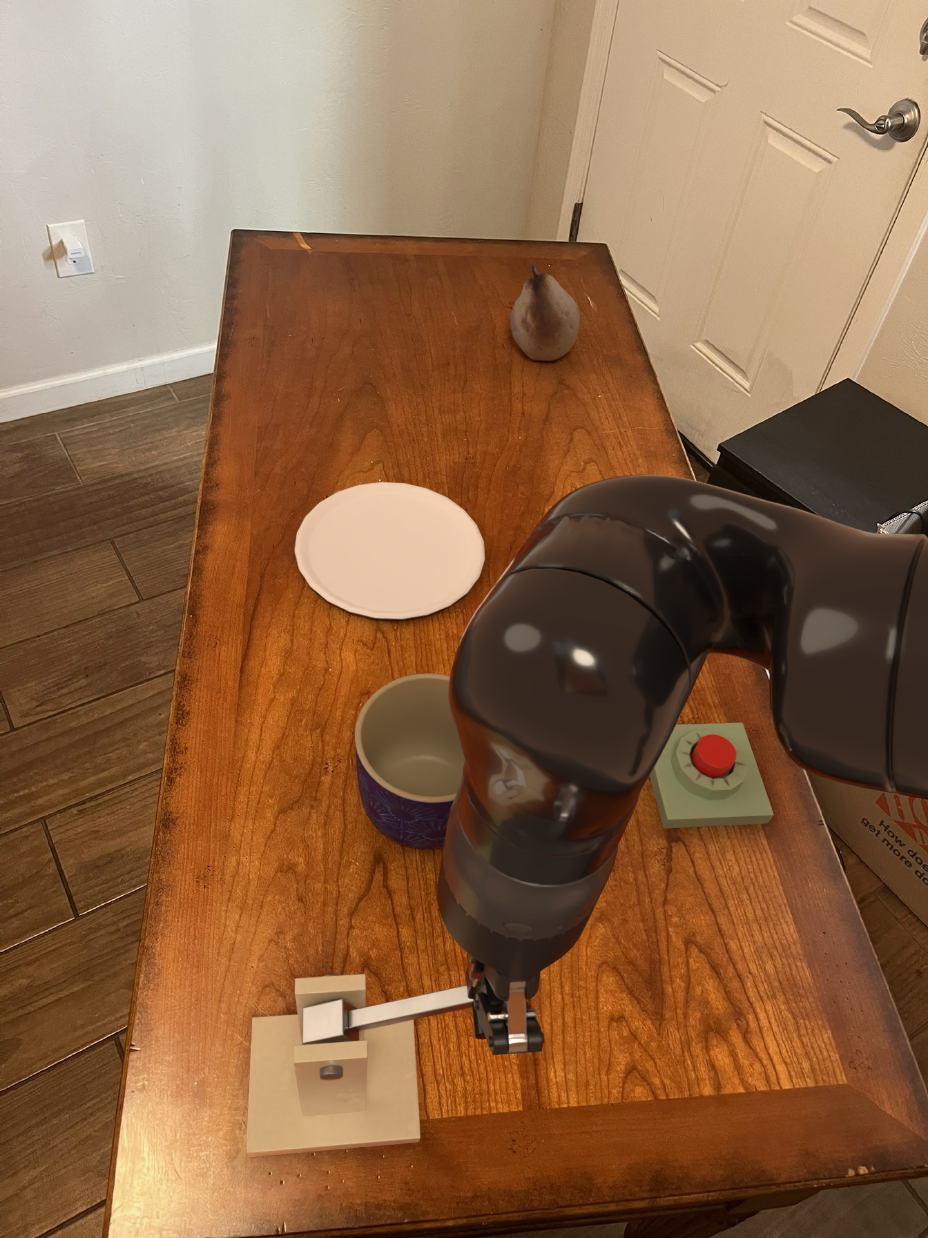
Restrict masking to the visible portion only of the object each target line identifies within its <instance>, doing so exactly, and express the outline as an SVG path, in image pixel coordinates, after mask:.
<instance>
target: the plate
mask: <svg viewBox="0 0 928 1238" xmlns="http://www.w3.org/2000/svg"><path fill="white" fill-rule="evenodd" d="M485 553H486V552H485V541H484V538H483V536H482V534H481V531H480V529H479V527H478V525H477V523H476V522H475V521H474V520H473V518H472V517H471V516H470V515H469V514H468V512H467V511H466V510H465V509H463V507H461V506H459V505H458V504H457V503H456V502H454V501H453V500H451V499H450V498H448V497H447V496H445V495H443V494H441V493H438V492H436V491H434V490H432V489H430V488H428V487H422V486H417V485H414V484H409V483H405V482H391V481H389V482H387V481H378V482H371V483H363V484H358V485H353V486H351V487H348V488H345V489H342V490H339V491H337V492H335V493H333V494H331V495H330V496H328V497H327V498H325V499H323V500H322V501H320V502H318V503H317V504H316V505H315V506H314V507H313V508H312V509H311V510H310V511H309V512H308V513H307V514H306V515H305V516H304V518H303V519H302V522H301V524H300V525H299V528H298V529H297V531H296V536H295V544H294V555H295V559H296V563H297V567H298V571H299V572H300V574H301V575H302V577H303V578H304V580H305V581H306V583H307V585H308V586H309V587H310V588H311V589H312V590H313V591H314V592H315V593H317V594H318V595H319V596H320V597H321V598H323V600H325V601H326V602H327V603H329V604H330V605H333V606H335V607H338V608H339V609H341V610H343V611H345V612H347V613H349V614H353V615H358V616H361V617H366V618H369V619H373V620H391V621H392V620H393V621H404V620H410V619H417V618H422V617H428V616H430V615H432V614H434V613H437V612H441V611H442V610H445V609H447V608H450V607H451V606H453V605H454V604H456V603H457V602H458V601H459V600H461V599H462V598H463V597H465V596H466V595H468V594H469V592H470V591H471V589H472V588H473V587H474V586H475V584H476V583H477V582H478V581H479V579H480V576H481V573H482V570H483V567H484V563H485V561H486V556H485V555H486V554H485Z"/></svg>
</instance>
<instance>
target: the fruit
mask: <svg viewBox="0 0 928 1238" xmlns="http://www.w3.org/2000/svg"><path fill="white" fill-rule="evenodd" d="M529 271H530V273H531V274H532V276H531V277H530V278H528V279H527V280H526V281H525V282H524V284H523V287H522V289H521V294H520V295H519V296H518V297H517V298H516V300H515V301H514V303H513V308H512V310H511V313H510V330H511V334H512V337H513V340H514V341H515V343H516V344H517V346H518V347H519V348H520V349H521V352H523V353H524V355H526V357H528V358H530V359H531V360H532V361H545V362H552V361H556V360H558V359H560V358H562V357H563V356H565V355H566V354H567V353H569V352H570V351H571V349H573V347H574V345H575V344H576V342H577V339H578V337H579V333H580V328H581V313H580V309H579V306H578V304H577V302H576V301H575V300H574V298H573V297H572V296H571V295H570V294H569V293H568V292H567V291H566V290H565V289H564V288H563V287H562V286H561V285H560V283H559V282H558V281H557V280H556V278H554V277H553V276H552V275H550V274H549V273H540V274H538V271H537V267H536V266H535V265H532V266H530V269H529Z"/></svg>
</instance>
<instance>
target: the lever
mask: <svg viewBox="0 0 928 1238" xmlns="http://www.w3.org/2000/svg"><path fill="white" fill-rule="evenodd" d="M466 961H467V962H468V958H467V957H466ZM474 1000H475V999H469V998H468V994H467V984H464V985H459V986H455V987H450V988H446V989H441V990H436V991H433V992H428V993H422V994H418V995H413V996H410V997H405V998H400V999H395V1000H391V1001H386V1002H382V1003H378V1004H372V1005H368V1006H365V1007H363V1008H359V1009H358V1008H356V1007H355V1006H353V1005H352V1004H350V1003H348V1002H347V1001H345V1000H344V999H340V1000H335V1001H331V1002H326V1003H322V1004H317V1005H313V1006H308V1007H304V1008H303V1041H302V1043H303V1044H304V1045H308V1044H322V1043H336V1042H350V1041H359V1031H363V1030H368V1029H373V1028H378V1027H382V1026H387V1025H392V1024H396V1023H401V1022H406V1021H410V1020H414V1021H415V1020H419V1019H420V1020H421V1019H424V1018H428V1017H433V1016H438V1015H439V1016H440V1015H443V1014H447V1013H452V1012H457V1011H461V1010H462V1011H463V1010H466V1009H472V1010H471V1011H472V1012H471V1013H472V1022H473V1031H474V1032H473V1033H474V1038H475V1039H476V1040H486V1037H485V1034H484V1032H483V1029H482V1026H481V1024H480V1021H479V1018H478V1015H477V1010H475V1008H474Z"/></svg>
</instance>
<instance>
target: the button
mask: <svg viewBox="0 0 928 1238" xmlns="http://www.w3.org/2000/svg"><path fill="white" fill-rule="evenodd" d="M692 760H693V763H694V765H695V767H696V768H697V769H698V770H699V771H700V772H701V773H702V774H704V775H706V776H709V777H713V778H718V777H722V776H724V775H726V774H727V773H728V772H729V770H730V769H731V767H732V765H733V764H734V762H735V760H736V750H735V748H734V746H733V745H732V743H731V742H730V741H729V740H727V739H726V738H724V737H722V736H719V735H715V734H710V735H706V736H704V737H702V738H701V739H700V740H699V741H698V743H697V745H696V747H695V749H694V751H693V754H692Z"/></svg>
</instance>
